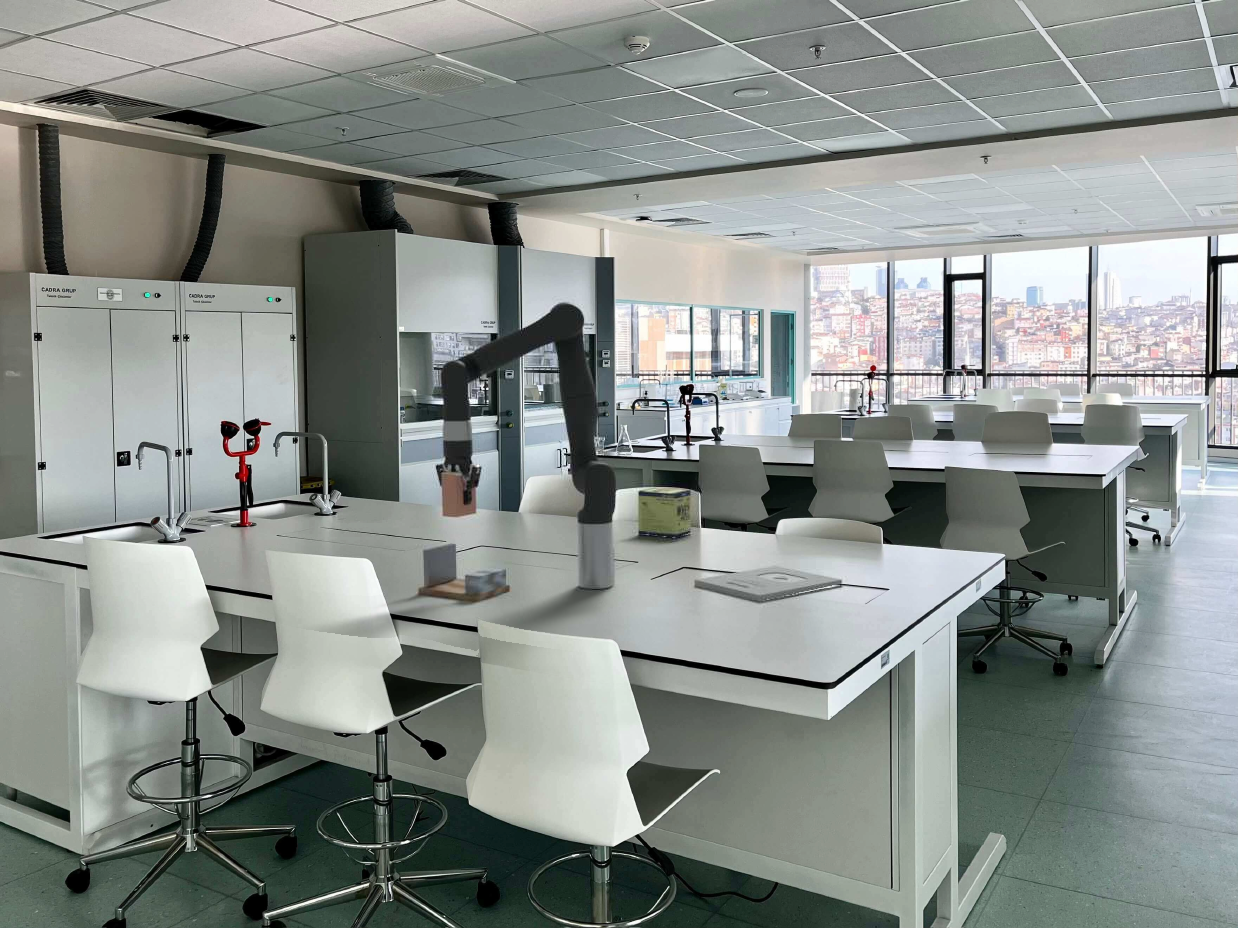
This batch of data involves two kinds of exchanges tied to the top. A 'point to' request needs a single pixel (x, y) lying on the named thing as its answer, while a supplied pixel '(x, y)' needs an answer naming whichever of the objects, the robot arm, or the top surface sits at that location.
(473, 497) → the orange upright rectangular block
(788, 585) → the award plaque
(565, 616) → the top surface
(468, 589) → the rack
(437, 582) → the bookend
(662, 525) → the protein box
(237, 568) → the top surface
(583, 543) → the robot arm
